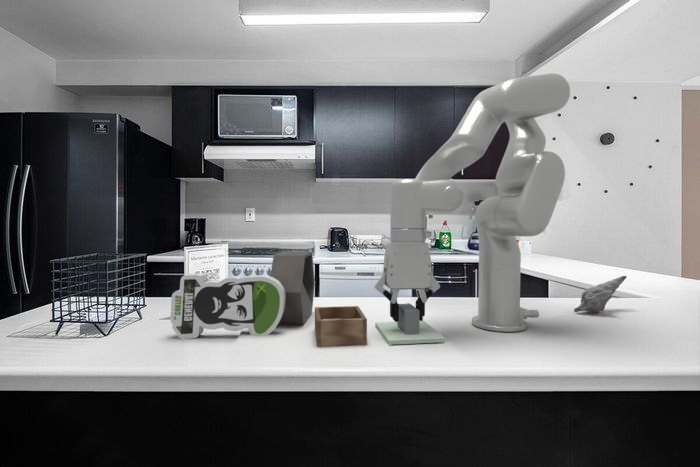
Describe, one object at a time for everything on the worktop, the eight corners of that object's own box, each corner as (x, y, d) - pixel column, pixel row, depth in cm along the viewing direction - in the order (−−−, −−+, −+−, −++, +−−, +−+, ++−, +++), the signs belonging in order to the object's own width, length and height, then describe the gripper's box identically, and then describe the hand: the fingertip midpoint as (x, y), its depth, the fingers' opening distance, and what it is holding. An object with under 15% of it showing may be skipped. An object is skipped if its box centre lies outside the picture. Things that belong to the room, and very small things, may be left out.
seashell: (563, 309, 112) (563, 274, 112) (621, 309, 112) (622, 274, 112) (584, 318, 102) (585, 280, 102) (648, 318, 102) (649, 280, 102)
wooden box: (358, 331, 90) (358, 306, 90) (366, 348, 78) (366, 319, 78) (314, 333, 89) (314, 307, 88) (317, 350, 77) (316, 320, 76)
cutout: (166, 276, 84) (281, 267, 84) (171, 275, 87) (283, 266, 87) (172, 345, 85) (286, 336, 85) (178, 341, 87) (288, 332, 88)
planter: (297, 315, 86) (307, 235, 96) (263, 315, 86) (276, 235, 97) (309, 337, 100) (316, 266, 111) (280, 337, 101) (290, 265, 111)
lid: (423, 329, 93) (423, 300, 93) (445, 347, 79) (445, 313, 79) (375, 330, 91) (375, 301, 91) (388, 350, 78) (388, 315, 77)
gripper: (439, 235, 89) (438, 314, 90) (366, 236, 87) (366, 316, 88) (451, 237, 82) (450, 323, 82) (372, 238, 80) (372, 325, 80)
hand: (407, 319), depth 85 cm, fingers open, 4 cm apart
